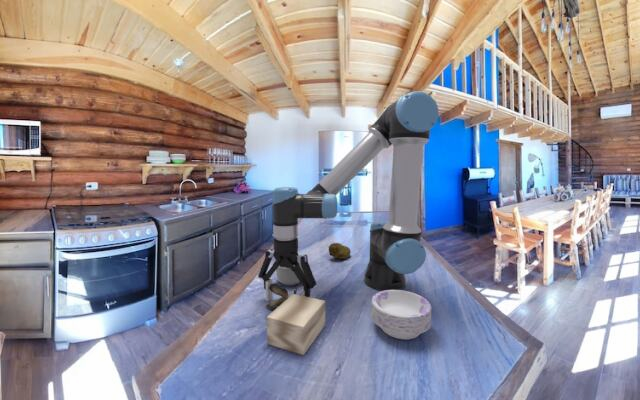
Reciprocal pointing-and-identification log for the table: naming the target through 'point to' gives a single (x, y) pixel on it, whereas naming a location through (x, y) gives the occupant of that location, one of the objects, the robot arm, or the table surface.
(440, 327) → the table surface
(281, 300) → the eagle figurine
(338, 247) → the potato
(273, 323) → the plinth
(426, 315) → the paper bowls
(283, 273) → the teacup
